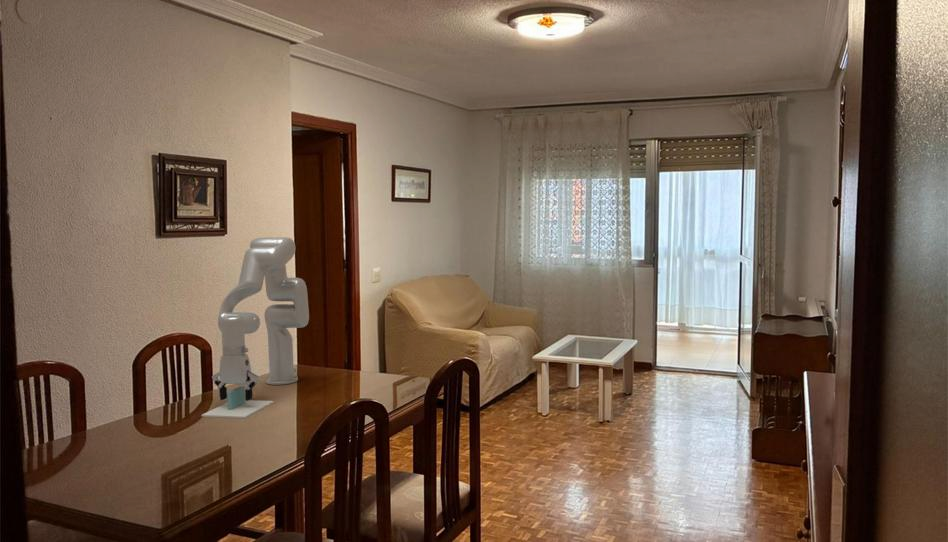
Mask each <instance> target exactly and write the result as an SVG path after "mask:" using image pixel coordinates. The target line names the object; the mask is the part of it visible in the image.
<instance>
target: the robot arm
mask: <svg viewBox="0 0 948 542" xmlns="http://www.w3.org/2000/svg"><path fill="white" fill-rule="evenodd" d="M295 253H296V244H295V241H294V240H293V239H292V238H290V237H284V236H283V237H280V236H279V237H274V236H273V237H272V236H271V237H257V238H254V239H252V240H250V244H249V248H248V249H247V250H246V251H245V252H244V255H243V259H242V263H241V270H240V274H239V280H238V284H236V286H234V288H232V289H231V290H230V291H229V293H228V294H227V295H226V296H225V297H224V299H223V301H222V303H221V305H220V308H219V313H218V319H217V327H218V329H219V331H220V332H221V345H222V346H221V347H222V355H221V356H220V361H219V371H218V372H216V373H215V374H213V375H212V376H211V378H212V380H213V381H214V383H213V384H215V386H217V389H218V390H219V391H218V392H219V398H220V401H223V400H225V399H226V400H227V392H228V388H227V385H242V386H245V388H246V389H245V400H246V401H249V400H253V397H254V396H253V388H254V387H255V386H256V385H257V382H258V381H259V375H257V374H255V373H253V372H252V367H251V362H250V357H249V355H248V354H247V353H248V352H249V348H248V347H246V339H245V338H246V337H245V336H246V334H253V333H255V332H257V331H258V330H259V328H260V325H261V319H260V317H259V315H257V313H254V312H243V311H242V312H240V311H239V312H233V311H234V309H235V307H236V306H237V305H238V304H239V303H240V302H242V301H243V300H245V299H247V298H249V297H252V296H254V295H256V294H258V293H260V292H261V291H262V288H263V285H265V291H266V292H265V293H266V297H267V299H268V300H269V301H270V302H281V303H277V304H272V305H269V306H267V307H266V308H265V310H264V315H263V316H264V323H265V326H266V331H267V344H268V349H267V350H268V368H269V377H268V378H266V380H265V383H266V384H267V385H272V386H277V385H278V386H279V385H280V386H282V385H283V386H284V385H289V384H294V383H296V382H298V380H299V378H298V376H296V375H295V373H297V371H298V368H297V367H294V345H293V337H292V334H291V332H290V331H289V330H288V329H297V328H298V329H299V328H305V327H306V326H307V325H308V324H309V320H310V310H309V309H310V308H309V298H308V297H309V296H308V288H307V285H306V281H305V280H304V279H303V278H300V277H288V274H287V267H286V265H287V264H288V262H290V261H291V260H292V259H293V257H294V255H295ZM264 282H265V283H264ZM283 302H292V303H283Z"/></svg>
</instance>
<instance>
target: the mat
mask: <svg viewBox="0 0 948 542" xmlns="http://www.w3.org/2000/svg"><path fill="white" fill-rule="evenodd" d="M274 403H275V401H273V400H253V399H251V400H249V401H246V399H245V403H244V404H242V405H240V406H238V407H236V408H234V409H232V410H228V407H227V402H225V403H224V404H221V405H219V406H217V407H215V408H213V409H211V410H208V411H207V412H205V413H202V414H201V417H203V418H225V419H226V418H227V419H230V418H231V419H246V418H249V417H250V416H252V415H254V414H256V413H257V412H260V411H262V410H263V409H265V408H267V407H268V406H270V405H273V404H274Z"/></svg>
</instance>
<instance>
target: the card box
mask: <svg viewBox="0 0 948 542" xmlns="http://www.w3.org/2000/svg"><path fill="white" fill-rule="evenodd" d="M245 388H246V387H245V386H244V385H242V386H238V387H235V388H233V389H231V390H229V391H227V398H226V401H227V402H226V403H227V407H228V410H232V409H234V408H236V407H238V406H240V405H242V404H244V403H245V400H246V397H245V390H246V389H245Z"/></svg>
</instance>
